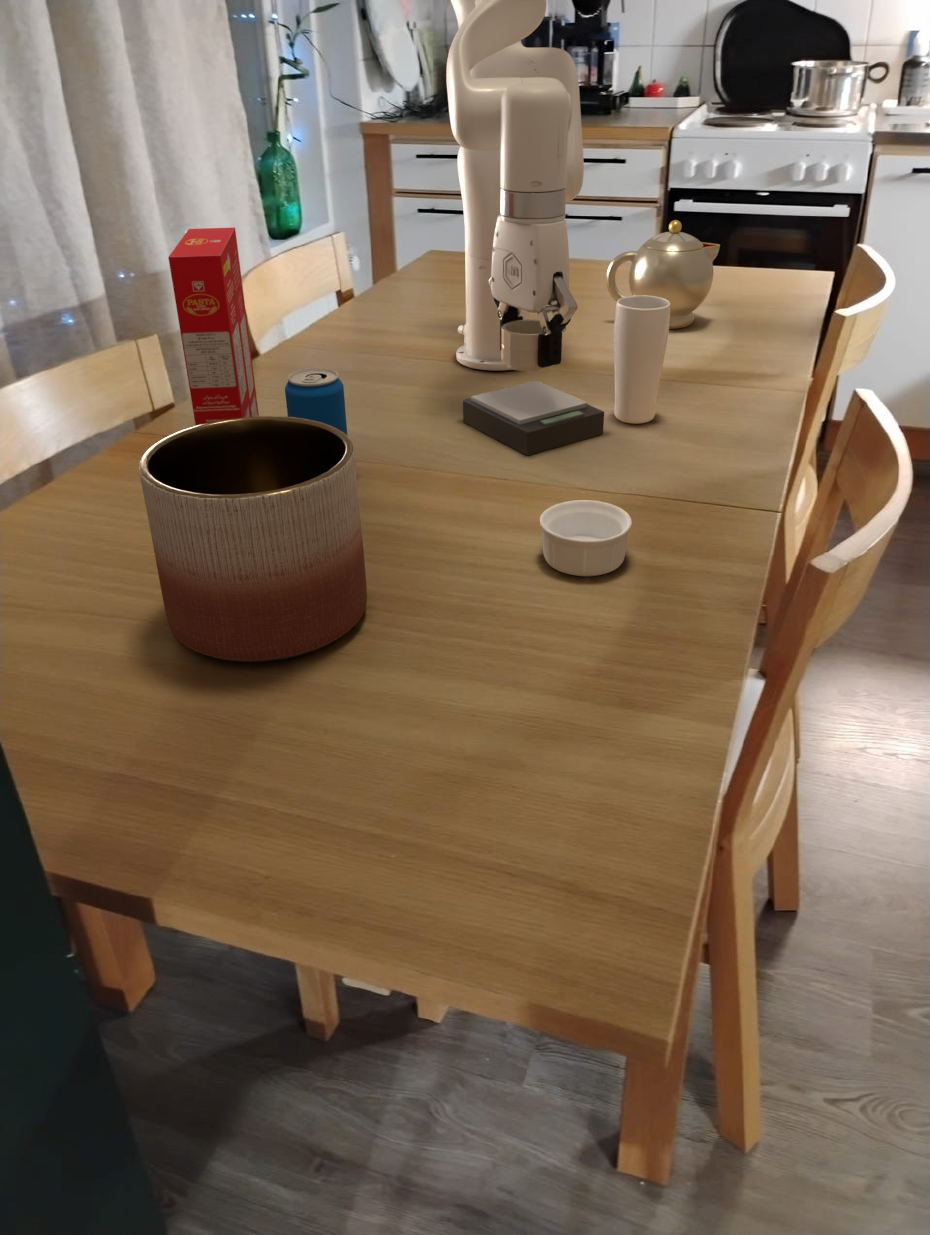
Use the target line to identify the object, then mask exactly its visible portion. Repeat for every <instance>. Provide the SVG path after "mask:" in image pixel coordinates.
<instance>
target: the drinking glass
mask: <svg viewBox="0 0 930 1235" xmlns="http://www.w3.org/2000/svg"><path fill="white" fill-rule="evenodd" d="M615 302H616V301H615ZM670 305H671V304H670V302H669V301H668V300H666V299H664V298H660V297H655V296H644V295H638V296H632V295H628V296H627V295H626V297H623V298H620V299H619V300H618V301H617V302H616V304H615V313H614V322H613V323H614V324H613V367H614V369H613V370H614V371H613V373H614V376H613V377H614V405H613V406H614V407H613V414H614V417H615V418H616V419H617V420H618V421H620V422H623V423H625V424H633V425H636V424H639V425H640V424H645V423H649V422H652V421H653V419H654V418H655V416H656V411H657V402H658V395H659V390H660V389H659V388H660V383H661V378H662V372H663V366H664V361H665V357H666V351H667V345H668V340H669V333H670V332H669V331H670V329H669V323H670Z"/></svg>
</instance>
